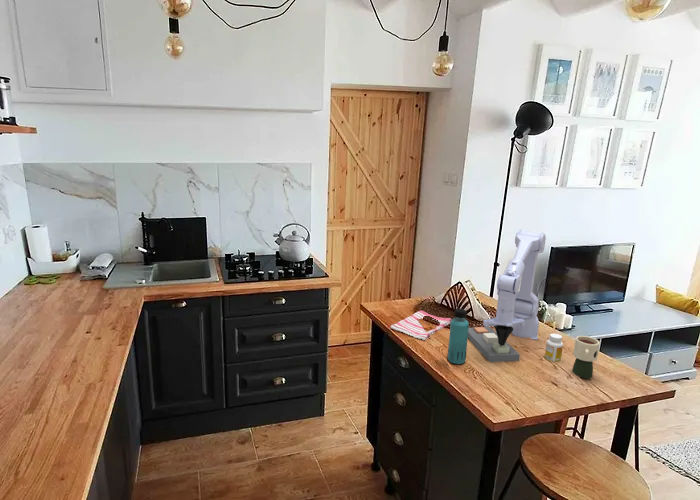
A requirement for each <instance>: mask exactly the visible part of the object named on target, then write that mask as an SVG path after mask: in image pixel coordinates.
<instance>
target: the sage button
mask: <svg viewBox="0 0 700 500" xmlns="http://www.w3.org/2000/svg"><path fill="white" fill-rule="evenodd" d="M509 349H510V348H509V347H508V346H507V345H506V344H505V345H502V346H501V345H500V344H499V343H493V350H494V351H495V352H496V353H497V354H509Z"/></svg>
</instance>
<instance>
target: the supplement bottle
mask: <svg viewBox="0 0 700 500" xmlns="http://www.w3.org/2000/svg"><path fill="white" fill-rule="evenodd" d="M548 337H549V339H547V340H546V345H545V354H544V358H545V359H546V360H548V361H550V362H554V363H555V362H556V363H557V362H558V363H559V362H560V363H561V362H562V356H563V355H562V354H563V349H564V343H563V342H562V341H563V336H562V335H561V334H558V333H550V334H549V336H548Z"/></svg>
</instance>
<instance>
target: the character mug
mask: <svg viewBox="0 0 700 500" xmlns="http://www.w3.org/2000/svg"><path fill="white" fill-rule="evenodd" d="M600 345H601V343H600V340H598V339H596V338H594V337H591V336H588V335H587V336H586V335H578V336H576V337H575V340H574V347H573V356H574V358H575V361H574V363H573V366H572V370H571V372H572V373H573V374H575V375H576V376H578V377H581V378H583V379H592V378H593V377H594V376H593V373H594V362H596V361H597V359H598V356H599V348H600Z"/></svg>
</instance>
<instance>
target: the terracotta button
mask: <svg viewBox="0 0 700 500" xmlns="http://www.w3.org/2000/svg"><path fill="white" fill-rule="evenodd" d="M484 327H485V326H479V327H477V326H475V327H474V326H473V328H474V331H475V332H476V333H477V334H483V333H488V331H487V330H486V329H485V328H484Z"/></svg>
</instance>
